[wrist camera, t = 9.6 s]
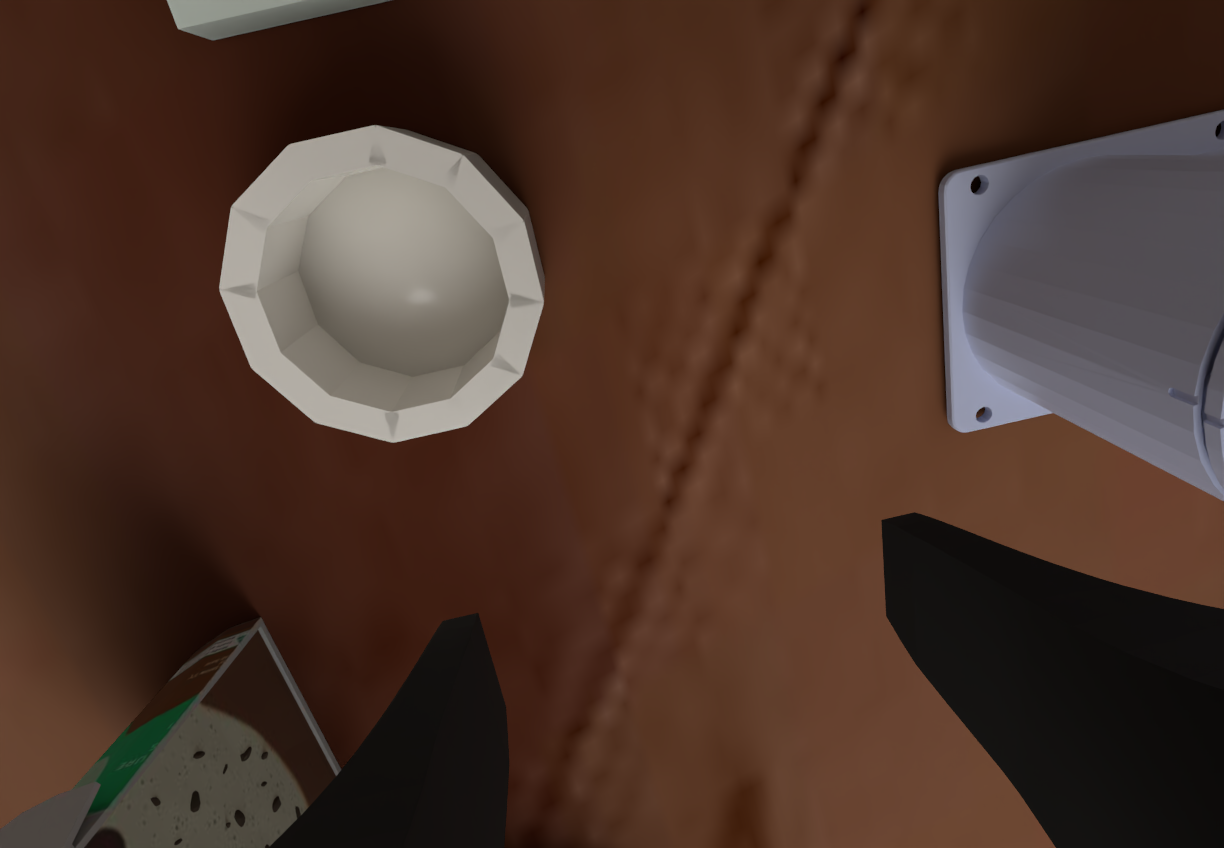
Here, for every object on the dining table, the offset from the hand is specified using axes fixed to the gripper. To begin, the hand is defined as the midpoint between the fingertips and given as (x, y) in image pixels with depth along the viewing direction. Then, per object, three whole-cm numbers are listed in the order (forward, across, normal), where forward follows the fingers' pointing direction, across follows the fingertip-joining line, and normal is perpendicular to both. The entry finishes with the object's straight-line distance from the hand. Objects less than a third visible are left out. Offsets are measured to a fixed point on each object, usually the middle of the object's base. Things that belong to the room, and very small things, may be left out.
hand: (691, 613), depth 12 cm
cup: (+11, +5, -5) cm, 13 cm away
